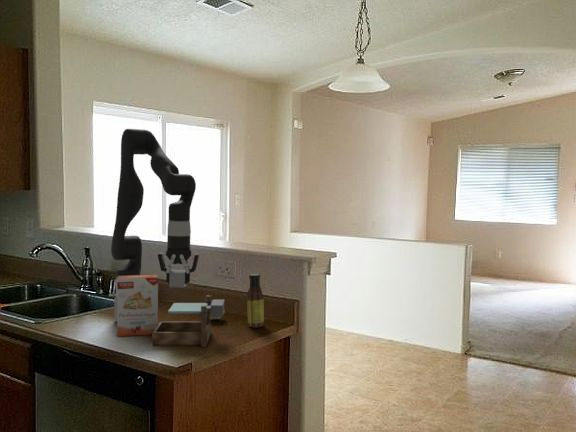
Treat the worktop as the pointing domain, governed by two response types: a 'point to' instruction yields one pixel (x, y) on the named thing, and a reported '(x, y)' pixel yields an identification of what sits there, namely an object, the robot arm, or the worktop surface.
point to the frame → (185, 330)
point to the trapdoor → (198, 308)
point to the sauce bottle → (255, 302)
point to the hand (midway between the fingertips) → (178, 283)
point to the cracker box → (137, 305)
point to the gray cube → (177, 278)
